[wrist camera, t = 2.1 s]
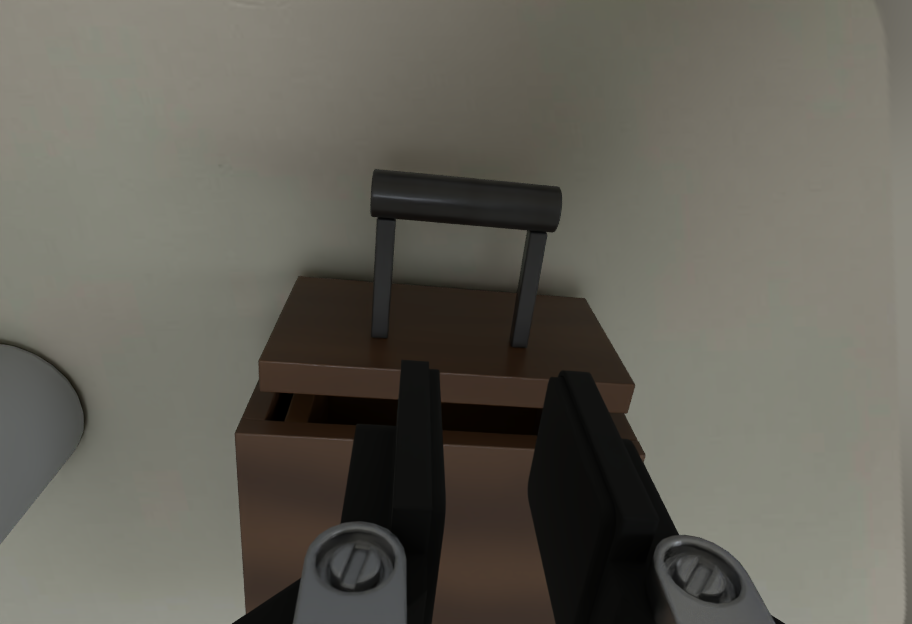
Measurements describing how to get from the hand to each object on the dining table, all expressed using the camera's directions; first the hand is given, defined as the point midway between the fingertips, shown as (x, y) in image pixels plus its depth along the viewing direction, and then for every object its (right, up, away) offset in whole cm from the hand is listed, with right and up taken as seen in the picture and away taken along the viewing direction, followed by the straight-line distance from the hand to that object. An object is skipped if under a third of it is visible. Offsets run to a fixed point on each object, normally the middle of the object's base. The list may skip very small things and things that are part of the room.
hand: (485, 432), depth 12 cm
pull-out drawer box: (-2, 0, +16) cm, 16 cm away
